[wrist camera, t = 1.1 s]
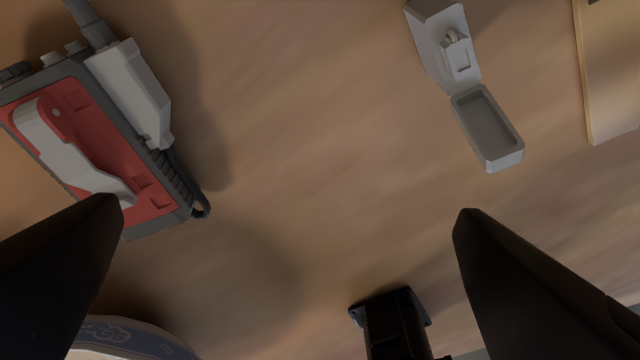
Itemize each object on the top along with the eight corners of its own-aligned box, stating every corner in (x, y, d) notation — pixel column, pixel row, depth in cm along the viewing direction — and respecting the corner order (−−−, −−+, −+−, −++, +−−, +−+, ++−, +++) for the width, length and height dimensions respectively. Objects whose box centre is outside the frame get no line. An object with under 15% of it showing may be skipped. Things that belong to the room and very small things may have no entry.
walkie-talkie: (240, 194, 26) (17, -146, 15) (229, 235, 23) (-72, -172, 12) (140, 228, 28) (-126, -58, 17) (115, 272, 24) (-244, -57, 13)
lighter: (401, 5, 19) (451, 41, 13) (432, -12, 19) (500, 17, 12) (439, 111, 23) (493, 182, 16) (465, 99, 23) (531, 167, 16)
